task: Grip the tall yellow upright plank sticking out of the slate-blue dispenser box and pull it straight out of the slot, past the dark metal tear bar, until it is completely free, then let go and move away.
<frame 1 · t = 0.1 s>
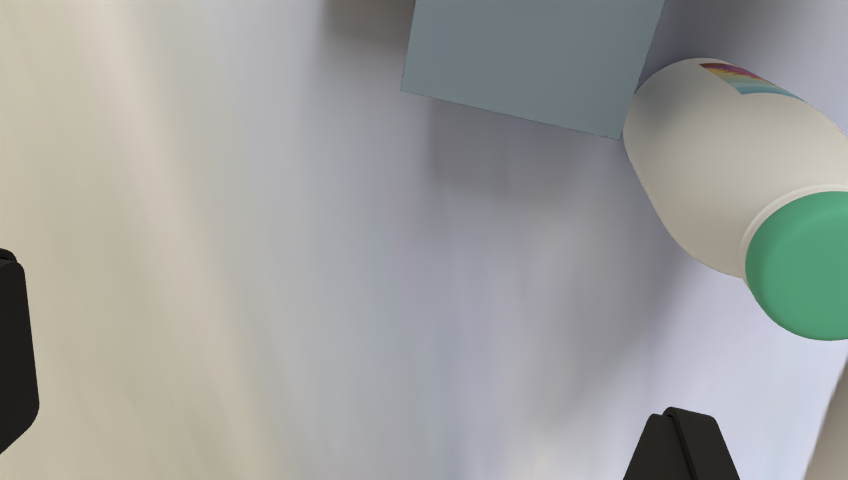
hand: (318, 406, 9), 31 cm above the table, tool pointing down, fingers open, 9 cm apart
milk bottle: (688, 122, 37), on the table
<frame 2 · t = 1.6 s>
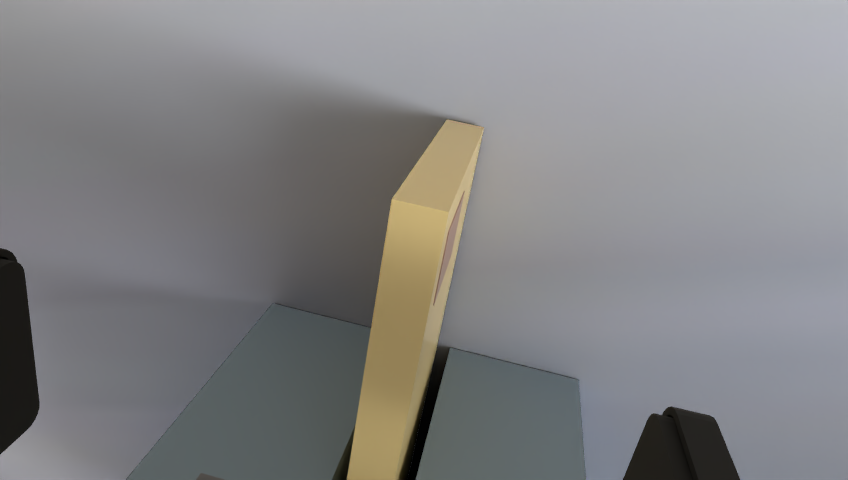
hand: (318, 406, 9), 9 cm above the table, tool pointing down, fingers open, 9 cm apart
tall yellow upright plank: (404, 378, 16), point 3 cm above the table, slide at 0.0 cm
dispenser: (422, 340, 19), on the table
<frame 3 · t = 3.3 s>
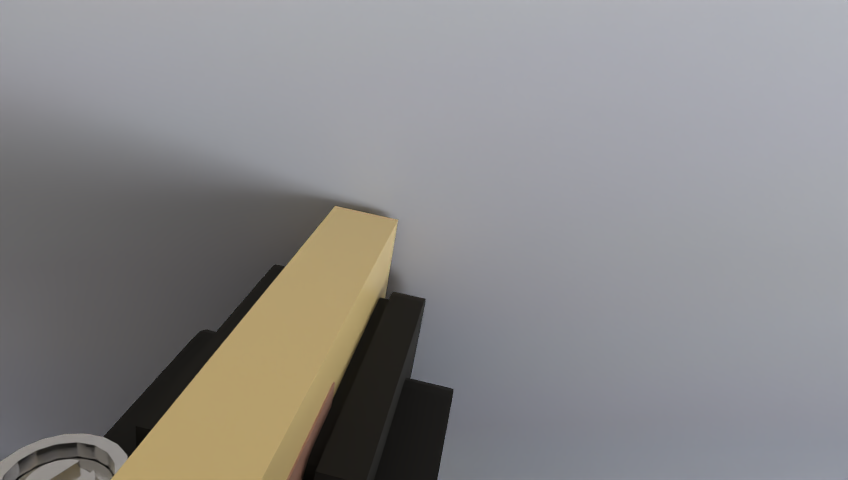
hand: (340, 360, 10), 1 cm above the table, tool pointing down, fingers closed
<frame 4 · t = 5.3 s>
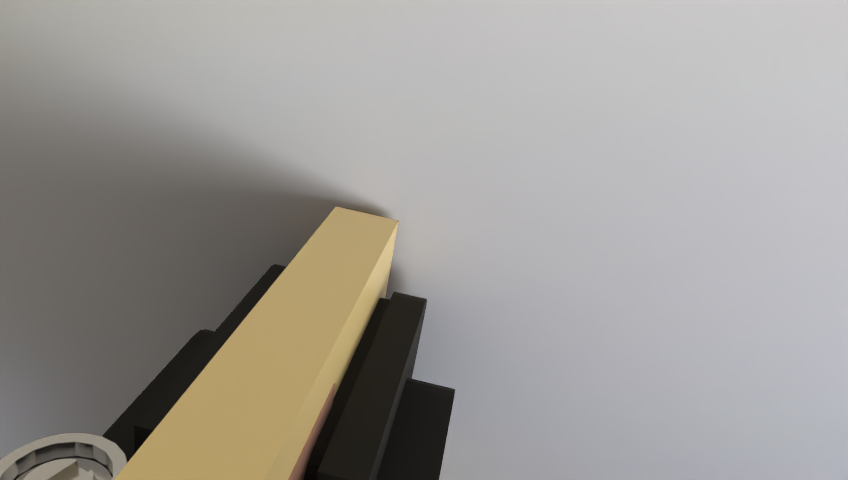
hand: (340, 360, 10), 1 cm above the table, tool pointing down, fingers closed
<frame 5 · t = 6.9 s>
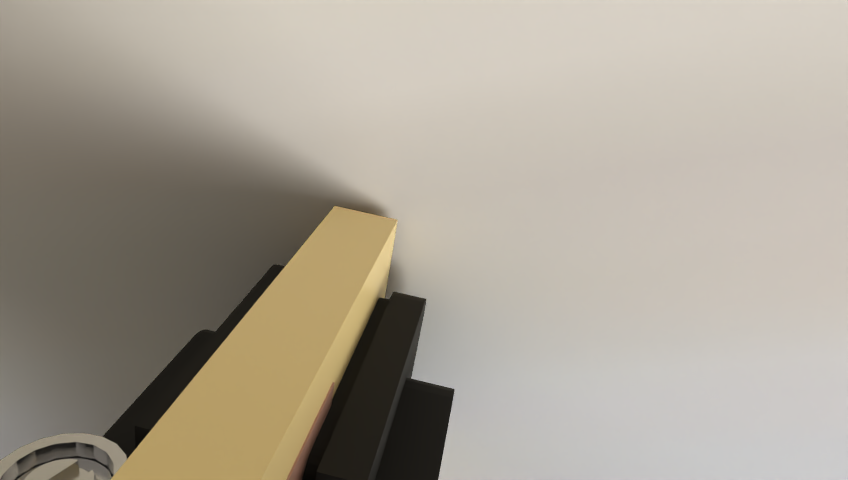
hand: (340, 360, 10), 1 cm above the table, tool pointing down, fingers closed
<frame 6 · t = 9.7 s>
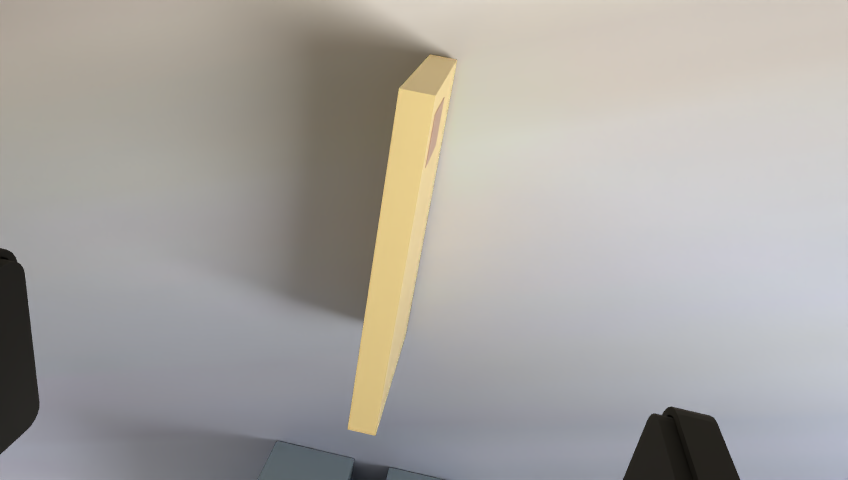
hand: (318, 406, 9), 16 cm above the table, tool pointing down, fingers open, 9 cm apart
tall yellow upright plank: (403, 242, 22), point 3 cm above the table, slide at 13.0 cm
dispenser: (371, 463, 31), on the table
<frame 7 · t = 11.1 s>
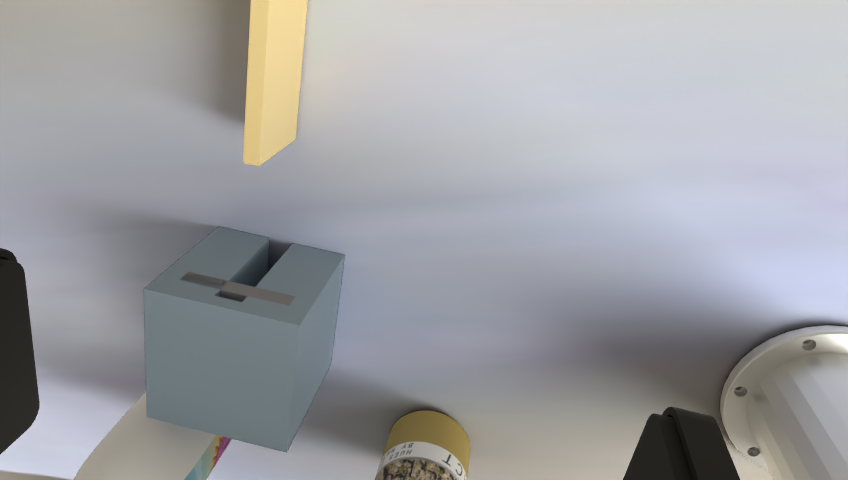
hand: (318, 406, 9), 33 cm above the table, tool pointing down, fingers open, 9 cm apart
tall yellow upright plank: (277, 54, 38), point 3 cm above the table, slide at 13.0 cm
paper tube: (430, 437, 52), on the table
dispenser: (281, 240, 46), on the table
milk bottle: (210, 388, 54), on the table
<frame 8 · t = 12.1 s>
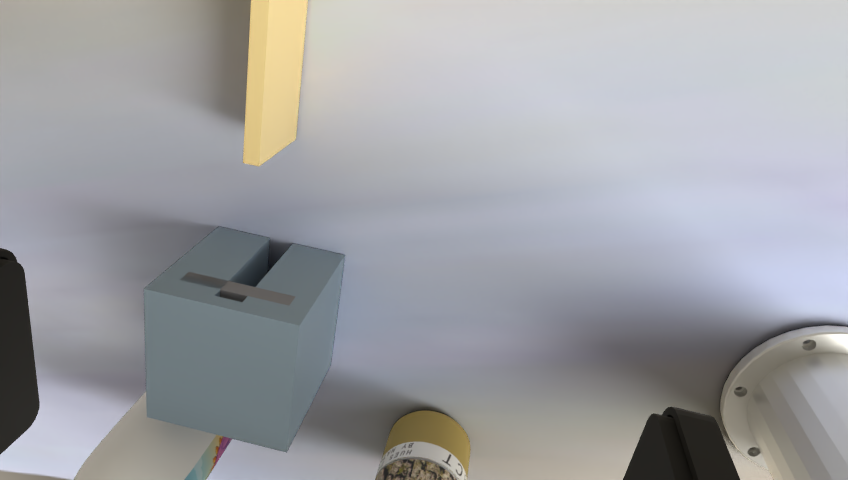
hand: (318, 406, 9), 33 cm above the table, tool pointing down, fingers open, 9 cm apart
tall yellow upright plank: (277, 54, 38), point 3 cm above the table, slide at 13.0 cm
paper tube: (430, 437, 52), on the table
dispenser: (281, 240, 47), on the table
milk bottle: (210, 388, 54), on the table
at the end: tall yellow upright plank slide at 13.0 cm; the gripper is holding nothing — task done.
